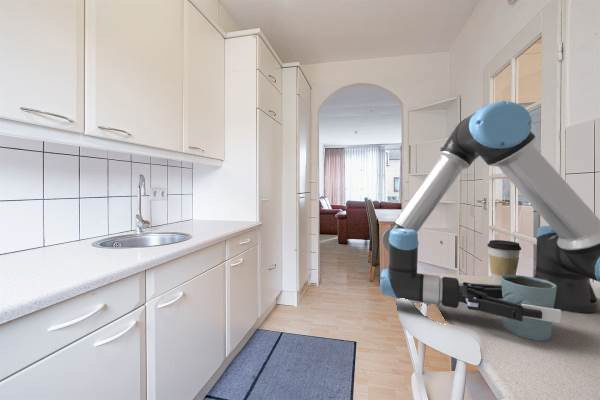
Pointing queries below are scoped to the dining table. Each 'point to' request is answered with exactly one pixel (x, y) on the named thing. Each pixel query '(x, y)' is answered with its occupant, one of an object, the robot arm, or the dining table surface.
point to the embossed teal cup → (530, 294)
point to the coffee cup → (503, 258)
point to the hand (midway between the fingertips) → (551, 307)
